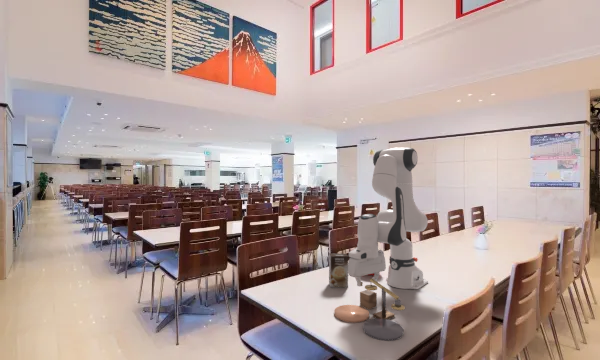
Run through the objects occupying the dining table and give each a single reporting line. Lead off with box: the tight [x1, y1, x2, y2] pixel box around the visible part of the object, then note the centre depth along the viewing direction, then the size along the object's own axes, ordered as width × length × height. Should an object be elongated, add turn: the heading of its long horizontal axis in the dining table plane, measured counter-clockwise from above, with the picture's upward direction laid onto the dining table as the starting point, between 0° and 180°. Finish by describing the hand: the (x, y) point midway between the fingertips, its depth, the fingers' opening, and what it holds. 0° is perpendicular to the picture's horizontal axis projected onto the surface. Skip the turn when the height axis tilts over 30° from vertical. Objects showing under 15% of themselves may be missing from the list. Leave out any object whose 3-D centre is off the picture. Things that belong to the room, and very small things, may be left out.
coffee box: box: [328, 253, 349, 288], centre depth 159 cm, size 9×6×16 cm
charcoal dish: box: [362, 318, 404, 342], centre depth 111 cm, size 14×14×1 cm
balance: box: [364, 278, 406, 320], centre depth 122 cm, size 7×18×14 cm, turn 35°
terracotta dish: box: [333, 304, 370, 324], centre depth 124 cm, size 14×14×1 cm
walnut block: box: [359, 289, 378, 310], centre depth 133 cm, size 5×5×6 cm
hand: (367, 284), depth 132 cm, fingers open, 8 cm apart
